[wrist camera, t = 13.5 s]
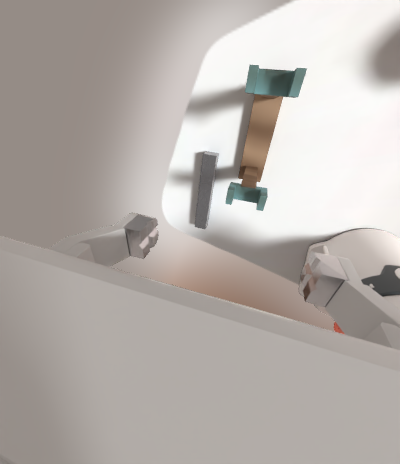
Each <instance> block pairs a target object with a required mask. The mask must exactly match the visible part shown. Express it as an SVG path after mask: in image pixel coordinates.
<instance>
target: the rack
mask: <svg viewBox="0 0 400 464" xmlns="http://www.w3.org/2000/svg"><path fill="white" fill-rule="evenodd" d="M306 70H307V68H297V69H296V70H295V71H286V70H272V69H259V65H250V66H249V72H248V78H247V83H246V89H245V92H246V93H249V94H255V97H254V102H253V107H252V112H251V117H250V122H249V127H248V132H247V137H246V142H245V147H244V152H243V157H242V162H241V167H240V172H239V177H238V178H239V179H243V180H242V184H239V183H233V182H231V183H230V186H229V188H228V192H227V198H226V203H225V204H230V205H231V204H232V201H233V199H238V200H243V201H248V202H253V203H257V210H261V211H263V209H264V206H265V203H266V199H267V188H262V187H256V182H260V180H261V176H262V173H263V169H264V165H265V162H266V158H267V154H268V151H269V147H270V143H271V139H272V136H273V132H274V128H275V125H276V121H277V117H278V114H279V110H280V106H281V103H282V99H283V97H293V98H295V97H298V96H299V92H300V89H301V86H302V83H303V79H304V76H305V73H306Z"/></svg>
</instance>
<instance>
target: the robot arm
mask: <svg viewBox="0 0 400 464" xmlns="http://www.w3.org/2000/svg"><path fill="white" fill-rule="evenodd" d="M157 225H158V223H157V219H156V218H154V217H149V216H145V215H141V214H136V213H129V214H128V215H127V216H126V217H124V218H123V219H122V220H120V221H119V222H118V223H116V224H115V225H114V226H112V225H110V226H106V227H102V228H99V229H95V230H91V231H88V232H84V233H80V234H76V235H72V236H68V237H65V238H64V239H62V240H60V241H59V242H57V243H56V244H54V245H53V246H51V247H50V248H48V249H45V248H41V247H38V246H34V245H31V244H28V243H24V242H21V241H17V240H14V239H10V238H7V237H3V236H0V464H400V239H399V238H398V237H396V236H395V235H393V234H391V233H389V232H386V231H383V230H378V229H358V230H352V231H348V232H345V233H342V234H340V235H338V236H336V237H334V238H332V239H330V240H328V241H325V242H320V243H316V244H313V245H311V246H310V247H309V249H308V253H307V257H306V261H305V265H304V267H303V269H302V272H301V281H300V285H299V293H300V294H301V295H302V296H303V297H304V299H305V302H308V303H311V304H314V306H315V307H316V308H317V309H318V310H319V311H320V312H322V313H324V314H326V315H329V316H331V317H332V318H333V319H334V321H335V323H334V330H335V332H334V331H331V330H327V329H324V328H320V327H317V326H313V325H310V324H306V323H303V322H299V321H296V320H292V319H289V318H285V317H282V316H278V315H275V314H271V313H268V312H264V311H261V310H257V309H254V308H251V307H247V306H244V305H240V304H237V303H233V302H230V301H226V300H223V299H219V298H216V297H212V296H209V295H205V294H202V293H198V292H195V291H191V290H188V289H184V288H181V287H177V286H174V285H170V284H167V283H163V282H160V281H156V280H153V279H149V278H146V277H142V276H138V275H135V274H132V273H128V272H125V271H122V270H118V269H115V268H111V267H110V266H112V265H114V264H116V263H118V262H120V261H122V260H124V259H126V258H128V257H129V256H134V257H138V258H142V259H144V258H145V257H146V255H147V254H148V253H149V252H150V248H152V247H154V246H155V244H156V243H157V240H158V230H157V229H156V226H157Z"/></svg>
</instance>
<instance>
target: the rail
mask: <svg viewBox="0 0 400 464" xmlns="http://www.w3.org/2000/svg"><path fill="white" fill-rule="evenodd" d="M218 156H219V153H214V152H208V151H206V152H204V153H203V159H202V168H201V177H200V185H199V194H198V203H197V212H196V221H195V227H198V228H202V229H206V227H207V225H208V219H209V212H210V206H211V200H212V194H213V187H214V181H215V175H216V168H217V162H218Z"/></svg>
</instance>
